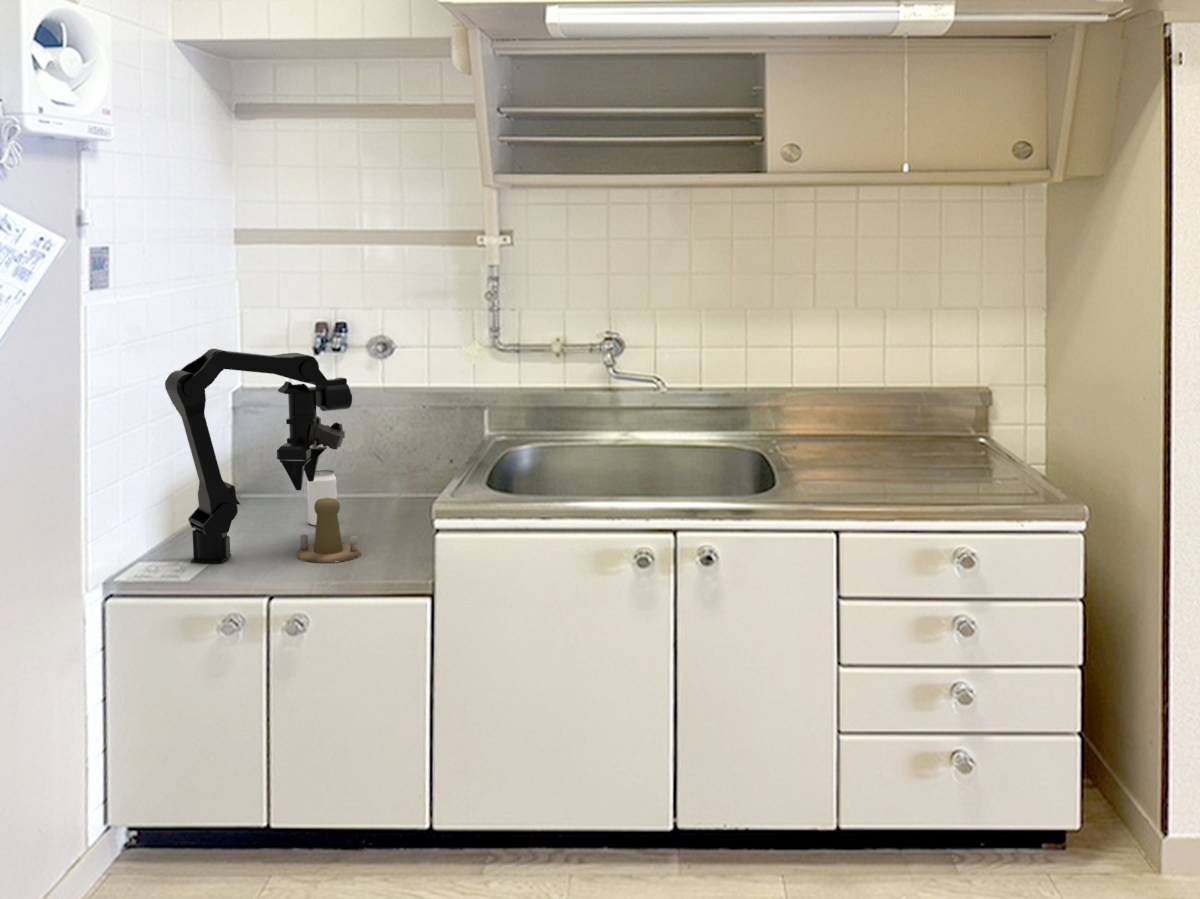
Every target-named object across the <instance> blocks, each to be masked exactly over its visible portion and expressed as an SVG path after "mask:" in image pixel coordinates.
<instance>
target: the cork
mask: <svg viewBox="0 0 1200 899" xmlns="http://www.w3.org/2000/svg"><path fill="white" fill-rule="evenodd" d="M340 506H341V505H340V502H339V500H338V499H337V500H336V499H333V498H322V499H319V500H317V501H316V503H315V505H314V510H315V512H316V514H317V523H316V526H315V531H314V532H315V533H314V543H313V544H314V552H315V553H319V554H334V553H339V552H341V551H343V547H342V543H343V541H342V536H341V529H340V524H339V518H338V517H339V516H338V513H339V512H340V510H341V507H340Z"/></svg>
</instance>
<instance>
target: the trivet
mask: <svg viewBox="0 0 1200 899" xmlns="http://www.w3.org/2000/svg"><path fill="white" fill-rule="evenodd" d="M299 545H300V546H299V547H300V548H299V549H298V550H297V554H296V555H297V559H299V558H300V560H301V559H302V560H301V561H303V560H305V561H304V562H307V561H311V562H310V563H314V562H335V561H343V562H345V561H344V560H349V559H352V560H354V559H353V558H355V559H357V558H359V557H360V556H361V554H362V549H361V547H360V546H359V538H358V536H357V535H353V536H350V537H349V543H348V542H347V543H346V542H342V547H343V551H341V552H339V553H334V554H319V553H315V552H314V543H313V544H309V535H308V534H300V535H299ZM359 555H360V556H359ZM358 556H359V557H358ZM356 557H357V558H356ZM349 561H350V560H349ZM335 563H336V562H335Z"/></svg>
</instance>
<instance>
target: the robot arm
mask: <svg viewBox="0 0 1200 899" xmlns="http://www.w3.org/2000/svg"><path fill="white" fill-rule="evenodd" d="M225 370H230V371H239V372H249V373H250V372H251V373H261V374H270V375H277V376H279V377H282V378H287V379H290V380H294V381H297V382H301V383H295V384H293V383H292V382H291V381H284V383H283V385H282V386H280V387H279V388H278V389H277V391H278V393H280V394H285V395H287V396H288V397H287V398H288V418H286V419H285V423H286V425H288V427H289V428H288V429H289V437H287V438H286V443H283V445H280V447H279V448H277V450H276V459H277V460H279V463H281V464H282V467H283V468H284V470H285V471H286V474H287V475H288V477H289V479H290V481H291V483H292V485H293V487H294V489H295V491H301V490H302V488H303V482H304V474H305V476H306V480H307V479H308V481H314V477H315V473H316V470H317V467H318V465H319V464H318V463H319V460H320V456H321V455H322V454H323V453H325V451H326V450H327V449H330V450H337V449H338V448H340V447H341V446H342V443H343V440H344V439H345V438H346V435H345V434H346V433H345V432H346V431H344V430H343V424H342V423H339V422H337V421H336V422H334V423H333V424H332V425H331V426H330V425H328V424H326V425H325V424H322V422H321V421H322V419H321V418H320V416H318V415H317V408H319V409H320V410H321V411H322V412H329V411H331V412H332V411H338V410H339V411H340V410H349V409H350V408H351V407H352V404H353V403H352V402H353V394H352V392H351V389H350V387H349V385H348V380H347V378H345V377H336V378H329V379H327V378H326V376H325V375H324V374H323V372H322V371H321V370H320V365H319V362H318V360H317V358H316V357H314V356H312V355H308V354H304V353H300V352H287V353H278V354H273V355H269V354H259V353H251V352H250V353H249V352H241V351H231V350H223V349H218V348H210V349H208V350H207V351H206V352H205V353H203V354H202V355H201V356H200V357H197V358H196V359H195V360H193V361H191V362H189V363H188V364H186V365H185V366H183V367H182V368H181V369H179V370H174V371H173V372H171V373H170V374H168V376H167V378H166V380H165V381H164V386H165V387H164V388H165V391H166V393H167V395H168V397H169V399H170V401H171V403H172V405H173V406H174V408H175V409H176V411H177V413H178V414H179V415H180V417H181V421H182V424H183V427H184V431H185V434H186V438H187V442H188V445H189V448H190V452H191V456H192V460H193V463H194V467H195V471H196V474H197V477H198V478H197V479H198V491H197V500H198V501H197V502H198V506H197V508H196V509H195V510H194V511H193V512H192V514H191V515H190V516H189V517H188V519H187V520H188V522H189V525H190V527H191V528H193V531H192V533H191V534H192V550H193V551H192V554H193V556H192V558H191V559H190V563H201V564H202V563H203V564H206V563H207V564H222V563H223V562H225V561H226V560H227V559H229V558H230V557H231V556H232V553H231V537H230V536H229V535H228V533H229V531H230V528H231V524H232V521H234V520H235V518H236V516H237V515H238V511H239V509H238V505H240V504H241V503H240V502H239V500H238V498H237V494H236V487H235V485H233V484H231V483H229V482H226V481H224V480H223V478H222V475H221V470H220V467H219V463H218V459H217V456H216V452H215V447H214V445H213V442H212V439H211V438H212V437H211V434H210V430H209V427H208V422H207V419H206V414H205V409H206V403H207V396H206V389H207V388H208V387H210V386H211V385H212V384H213V383H214V381H215V380H216V379H217V377H218V376H219V375H220V373H221V372H223V371H225ZM307 384H309V385H313V386H311V387H309V386H308V385H307Z"/></svg>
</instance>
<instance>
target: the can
mask: <svg viewBox="0 0 1200 899" xmlns="http://www.w3.org/2000/svg"><path fill="white" fill-rule="evenodd" d="M334 472H335V471H334V470H332V469H316V473H315V477H314V481H308V479H307V478H306V481H307V482H306V484H307V485H306V486H307V489H306V490H307V513H308V514H307V518H308V524H309V525H310V524H311V525H310V526H312V525H314V526H313V527H316V523H317V514H316V512H315V510H314V505H315V503H316V501H317V500H319V499H322V498H333V499H336V500H338V499H337V497H338V495H337V492H338V490H337V478H336V475H335V473H334Z"/></svg>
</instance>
